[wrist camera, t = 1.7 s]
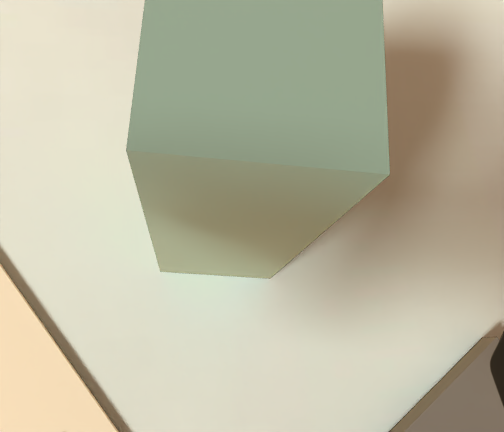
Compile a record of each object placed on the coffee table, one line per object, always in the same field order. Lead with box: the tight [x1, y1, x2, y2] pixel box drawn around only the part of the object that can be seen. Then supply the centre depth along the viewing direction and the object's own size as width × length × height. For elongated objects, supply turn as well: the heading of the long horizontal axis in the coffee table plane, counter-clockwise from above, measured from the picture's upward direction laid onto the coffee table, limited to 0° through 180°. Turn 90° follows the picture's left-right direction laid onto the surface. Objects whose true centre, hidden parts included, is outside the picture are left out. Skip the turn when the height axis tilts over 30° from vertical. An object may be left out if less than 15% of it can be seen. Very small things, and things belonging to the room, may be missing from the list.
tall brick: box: [126, 0, 390, 279], centre depth 15 cm, size 5×5×12 cm
